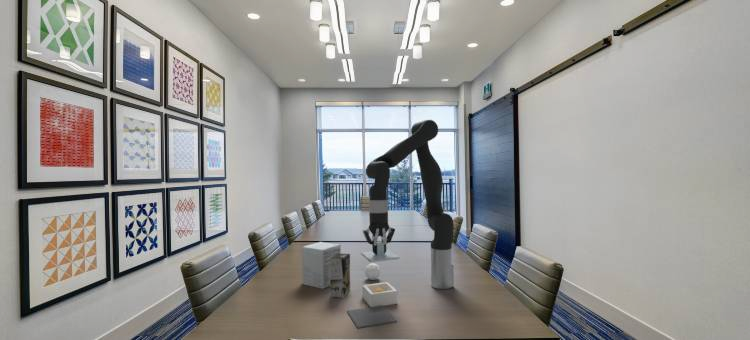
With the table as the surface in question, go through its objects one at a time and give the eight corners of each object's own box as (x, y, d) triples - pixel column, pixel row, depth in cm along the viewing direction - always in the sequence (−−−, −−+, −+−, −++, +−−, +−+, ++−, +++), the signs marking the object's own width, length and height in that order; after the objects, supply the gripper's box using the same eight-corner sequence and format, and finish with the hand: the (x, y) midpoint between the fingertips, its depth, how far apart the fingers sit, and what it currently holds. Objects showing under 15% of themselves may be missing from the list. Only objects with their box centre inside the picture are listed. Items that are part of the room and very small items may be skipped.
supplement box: (341, 281, 157) (341, 244, 157) (323, 289, 146) (323, 249, 146) (320, 276, 164) (320, 241, 164) (301, 284, 153) (301, 246, 153)
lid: (387, 251, 140) (387, 238, 140) (399, 259, 129) (399, 244, 129) (361, 254, 136) (360, 240, 136) (370, 262, 125) (370, 247, 125)
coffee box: (344, 298, 135) (344, 258, 136) (329, 296, 137) (329, 258, 137) (350, 290, 144) (350, 253, 145) (336, 289, 146) (336, 252, 146)
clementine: (382, 295, 135) (382, 286, 135) (385, 298, 131) (385, 289, 131) (373, 296, 134) (373, 288, 134) (376, 300, 130) (376, 290, 130)
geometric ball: (369, 286, 158) (359, 273, 156) (373, 275, 165) (363, 263, 163) (382, 280, 155) (372, 267, 153) (385, 269, 162) (375, 257, 161)
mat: (382, 306, 127) (382, 305, 127) (396, 321, 113) (396, 320, 113) (347, 311, 122) (347, 310, 122) (357, 328, 109) (357, 327, 109)
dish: (387, 293, 140) (387, 282, 140) (397, 303, 129) (397, 290, 129) (362, 297, 136) (362, 285, 136) (370, 307, 126) (370, 294, 126)
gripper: (391, 209, 139) (392, 250, 138) (359, 211, 134) (360, 253, 134) (398, 211, 132) (399, 254, 131) (364, 213, 127) (365, 258, 127)
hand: (379, 253), depth 133 cm, fingers closed on lid, 2 cm apart
